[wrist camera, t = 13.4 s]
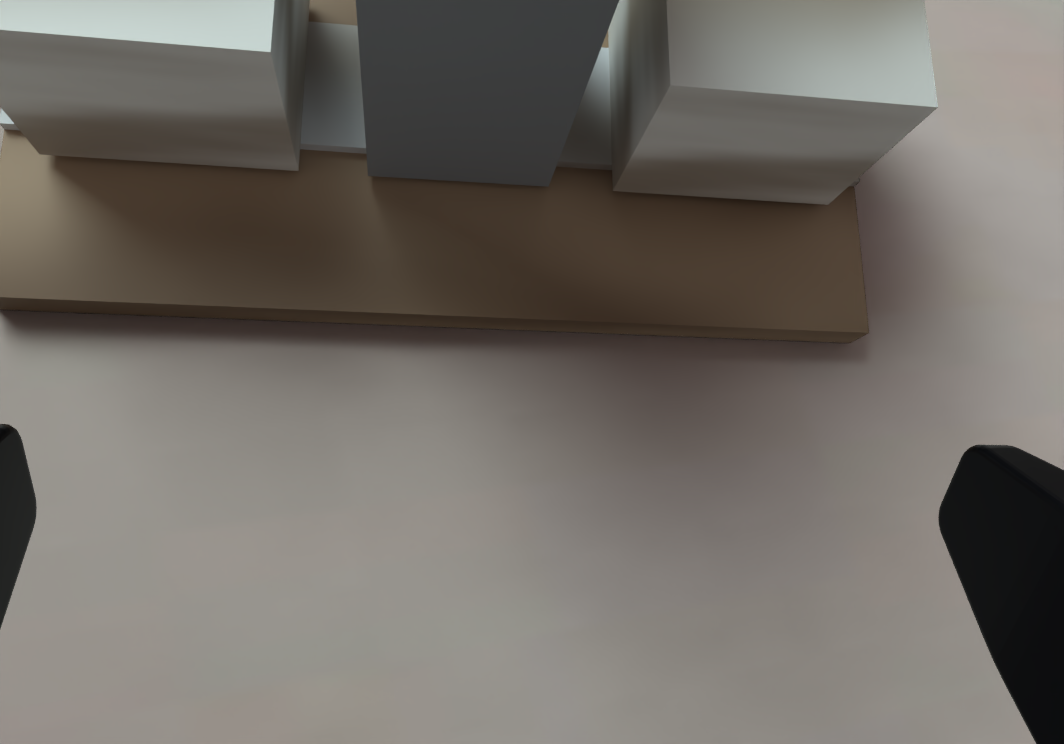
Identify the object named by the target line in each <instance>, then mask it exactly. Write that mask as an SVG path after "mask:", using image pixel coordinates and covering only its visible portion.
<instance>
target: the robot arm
mask: <svg viewBox="0 0 1064 744" xmlns="http://www.w3.org/2000/svg"><path fill="white" fill-rule="evenodd" d="M35 519H36V497H35V493H34V489H33V484H32V480H31V476H30V472H29V468H28V464H27V459H26V455H25V451H24V447H23V443H22V440H21V437H20V435H19V433H18V431H17V430H16V429H15V428H13V427H12V426H10V425H8V424H0V629H1V625H2V622H3V619H4V616H5V613H6V610H7V607H8V604H9V601H10V598H11V595H12V592H13V589H14V586H15V583H16V580H17V577H18V574H19V571H20V568H21V564H22V561H23V558H24V555H25V552H26V549H27V546H28V543H29V540H30V537H31V534H32V531H33V528H34V524H35ZM939 526H940V531H941V534H942V536H943V539H944V541H945V544H946V546H947V549H948V551H949V554H950V556H951V559H952V561H953V564H954V566H955V569H956V571H957V573H958V576H959V578H960V581H961V583H962V586H963V588H964V591H965V593H966V596H967V598H968V601H969V603H970V606H971V608H972V610H973V613H974V615H975V618H976V620H977V623H978V625H979V628H980V630H981V633H982V635H983V638H984V640H985V642H986V645H987V647H988V649H989V652H990V654H991V656H992V658H993V661H994V663H995V665H996V667H997V669H998V671H999V673H1000V675H1001V677H1002V679H1003V681H1004V683H1005V685H1006V687H1007V689H1008V691H1009V693H1010V695H1011V697H1012V698H1013V700H1014V702H1015V704H1016V706H1017V708H1018V710H1019V712H1020V714H1021V716H1022V718H1023V719H1024V721H1025V723H1026V725H1027V727H1028V729H1029V731H1030V733H1031V735H1032V737H1033V738H1034V740H1035V742H1036V744H1064V470H1062V469H1060V468H1058V467H1056V466H1054V465H1052V464H1050V463H1048V462H1046V461H1044V460H1042V459H1040V458H1037V457H1035V456H1033V455H1031V454H1029V453H1027V452H1025V451H1023V450H1021V449H1019V448H1016V447H1013V446H1008V445H975V446H973V447H970V448H969V449H968V450H967V451H966V452H965V453H964V454H963V456H962V458H961V460H960V462H959V464H958V467H957V469H956V471H955V473H954V476H953V478H952V480H951V483H950V485H949V487H948V489H947V492H946V494H945V496H944V499H943V501H942V503H941V506H940V510H939Z"/></svg>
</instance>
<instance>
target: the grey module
mask: <svg viewBox="0 0 1064 744" xmlns="http://www.w3.org/2000/svg"><path fill="white" fill-rule="evenodd" d="M618 2H619V0H356V12H357V26H358V41H359V55H360V69H361V83H362V98H363V112H364V126H365V140H366V155H367V169H368V176H377V177H394V178H411V179H428V180H445V181H461V182H478V183H495V184H512V185H528V186H545V187H549V184H550V182H551V179H552V176H553V174H554V171H555V168H556V166H557V163H558V160H559V158H560V155H561V153H562V150H563V147H564V145H565V142H566V139H567V137H568V134H569V131H570V129H571V126H572V124H573V121H574V118H575V116H576V113H577V110H578V108H579V105H580V102H581V100H582V97H583V95H584V92H585V89H586V87H587V84H588V81H589V79H590V76H591V73H592V71H593V68H594V66H595V63H596V60H597V58H598V55H599V52H600V50H601V47H602V44H603V42H604V39H605V37H606V34H607V31H608V29H609V26H610V23H611V21H612V18H613V15H614V13H615V10H616V8H617V5H618Z"/></svg>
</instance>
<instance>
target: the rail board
mask: <svg viewBox="0 0 1064 744" xmlns="http://www.w3.org/2000/svg"><path fill="white" fill-rule="evenodd" d="M0 107H1V114H0V125H1V126H2V127H3V128H4V136H3V142H2V148H1V155H0V310H21V311H47V312H73V313H98V314H124V315H149V316H175V317H200V318H226V319H251V320H277V321H302V322H328V323H353V324H379V325H404V326H430V327H456V328H481V329H507V330H532V331H558V332H583V333H609V334H634V335H660V336H685V337H711V338H736V339H762V340H787V341H813V342H838V343H851V342H853V341H855V340H857V339H859V338H860V337H862V336H864V335H866V334H868V333H869V328H868V318H867V308H866V298H865V288H864V278H863V268H862V259H861V249H860V239H859V229H858V219H857V209H856V199H855V189H854V186H855V185H857V184H858V183H859V182H860V180H859V177H860V176H861V175H862V174H863V173H864V172H866V171H867V170H868V169H869V168H870V167H871V166H872V165H873V164H875V163H876V162H877V161H878V160H879V159H880V158H881V157H882V156H884V155H885V154H886V153H887V152H888V151H889V150H890V149H891V148H893V147H894V146H895V145H896V144H897V143H898V142H899V141H901V140H902V139H903V138H904V137H905V136H906V135H907V134H908V133H910V132H911V131H912V130H913V129H914V128H915V127H916V126H917V125H919V124H920V123H921V122H922V121H923V120H924V119H925V118H926V117H928V116H929V115H930V114H931V113H932V112H933V111H934V110H935V109H937V108H938V104H937V96H936V89H935V81H934V73H933V65H932V58H931V50H930V42H929V34H928V27H927V19H926V11H925V3H924V0H619V2H618V5H617V8H616V10H615V13H614V15H613V18H612V21H611V23H610V26H609V29H608V31H607V34H606V37H605V39H604V42H603V44H602V47H601V50H600V52H599V55H598V58H597V60H596V63H595V66H594V68H593V71H592V73H591V76H590V79H589V81H588V84H587V87H586V89H585V92H584V95H583V97H582V100H581V102H580V105H579V108H578V110H577V113H576V116H575V118H574V121H573V124H572V126H571V129H570V131H569V134H568V137H567V139H566V142H565V145H564V147H563V150H562V153H561V155H560V158H559V160H558V163H557V166H556V168H555V171H554V174H553V176H552V179H551V182H550V184H549V187H545V186H528V185H512V184H495V183H478V182H461V181H445V180H428V179H411V178H394V177H377V176H368V169H367V155H366V140H365V126H364V112H363V98H362V83H361V69H360V55H359V41H358V26H357V12H356V0H0Z"/></svg>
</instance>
